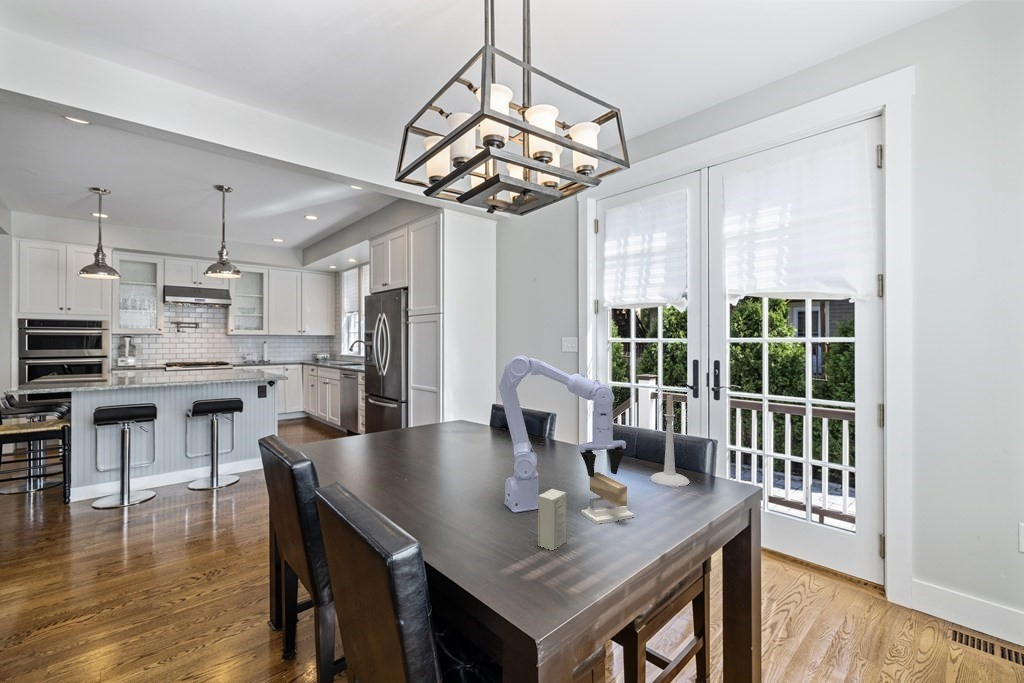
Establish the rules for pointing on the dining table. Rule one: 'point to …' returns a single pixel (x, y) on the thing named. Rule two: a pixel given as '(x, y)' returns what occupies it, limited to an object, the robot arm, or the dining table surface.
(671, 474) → the candlestick
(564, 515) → the skincare box
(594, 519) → the ridge stand
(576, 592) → the dining table surface
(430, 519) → the dining table surface
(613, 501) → the oak bar
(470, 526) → the dining table surface
